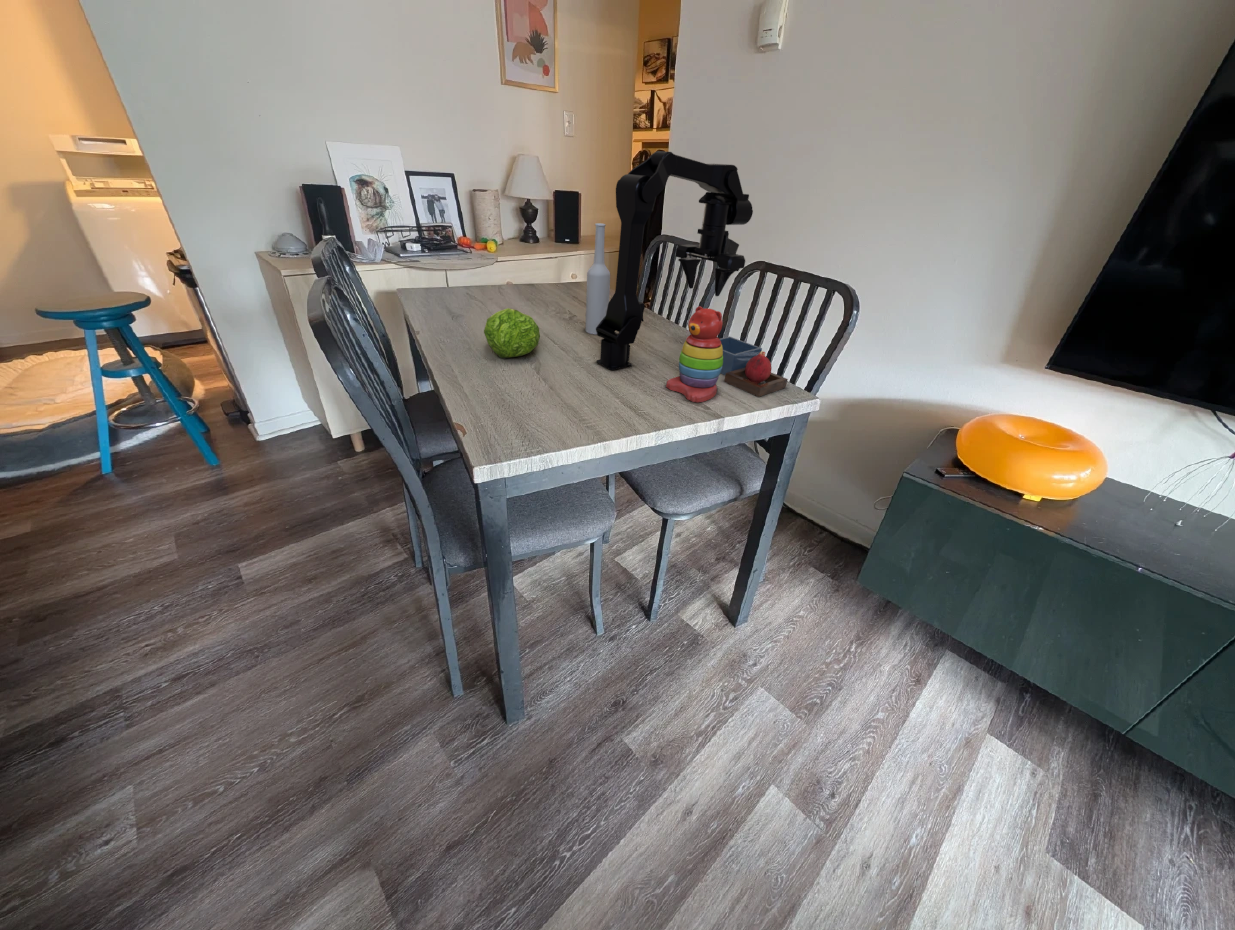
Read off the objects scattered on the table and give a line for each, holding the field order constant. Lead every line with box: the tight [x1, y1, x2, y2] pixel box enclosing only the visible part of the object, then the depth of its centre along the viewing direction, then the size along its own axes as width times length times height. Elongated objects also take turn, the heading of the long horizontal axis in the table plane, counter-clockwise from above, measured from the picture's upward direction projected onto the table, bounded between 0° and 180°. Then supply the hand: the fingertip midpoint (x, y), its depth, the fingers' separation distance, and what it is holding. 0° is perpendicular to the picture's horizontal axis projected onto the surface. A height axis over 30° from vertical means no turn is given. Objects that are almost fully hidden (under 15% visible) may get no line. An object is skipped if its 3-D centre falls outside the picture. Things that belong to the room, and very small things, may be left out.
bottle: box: [585, 222, 611, 335], centre depth 130 cm, size 7×7×28 cm
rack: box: [723, 368, 789, 398], centre depth 109 cm, size 10×10×2 cm
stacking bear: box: [665, 305, 723, 403], centre depth 100 cm, size 11×10×18 cm
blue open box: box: [719, 336, 763, 376], centre depth 117 cm, size 10×10×6 cm
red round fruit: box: [745, 350, 773, 385], centre depth 108 cm, size 6×6×8 cm
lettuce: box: [483, 307, 541, 359], centre depth 119 cm, size 12×24×13 cm
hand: (703, 292), depth 123 cm, fingers open, 9 cm apart
